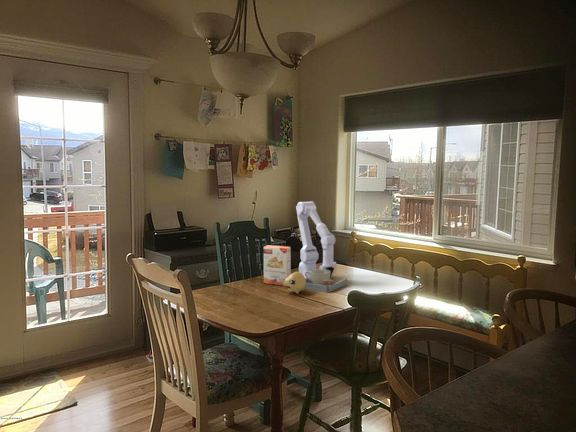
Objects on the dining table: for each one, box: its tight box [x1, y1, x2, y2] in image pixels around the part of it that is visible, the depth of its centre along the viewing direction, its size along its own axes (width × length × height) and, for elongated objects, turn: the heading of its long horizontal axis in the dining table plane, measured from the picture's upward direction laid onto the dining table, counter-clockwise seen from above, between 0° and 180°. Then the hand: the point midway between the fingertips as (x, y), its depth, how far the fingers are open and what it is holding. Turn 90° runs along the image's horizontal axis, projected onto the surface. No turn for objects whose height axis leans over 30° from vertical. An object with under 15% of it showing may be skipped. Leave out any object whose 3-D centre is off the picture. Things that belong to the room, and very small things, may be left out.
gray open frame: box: [305, 277, 347, 293], centre depth 247 cm, size 19×19×3 cm
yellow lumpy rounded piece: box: [283, 271, 306, 295], centre depth 234 cm, size 10×12×11 cm
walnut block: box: [323, 279, 334, 286], centre depth 240 cm, size 4×4×5 cm
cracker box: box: [263, 244, 292, 287], centre depth 251 cm, size 14×6×21 cm, turn 68°
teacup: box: [305, 268, 331, 285], centre depth 249 cm, size 14×11×8 cm
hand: (328, 280), depth 255 cm, fingers closed
